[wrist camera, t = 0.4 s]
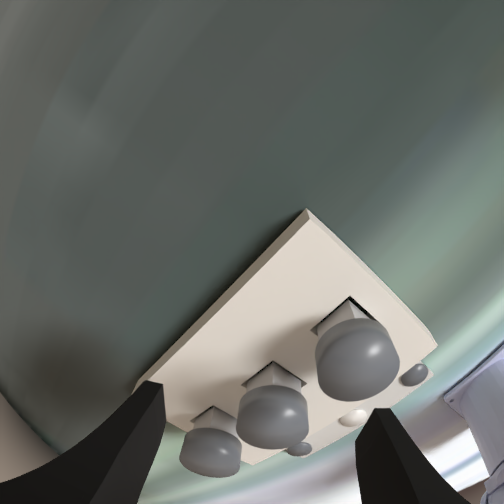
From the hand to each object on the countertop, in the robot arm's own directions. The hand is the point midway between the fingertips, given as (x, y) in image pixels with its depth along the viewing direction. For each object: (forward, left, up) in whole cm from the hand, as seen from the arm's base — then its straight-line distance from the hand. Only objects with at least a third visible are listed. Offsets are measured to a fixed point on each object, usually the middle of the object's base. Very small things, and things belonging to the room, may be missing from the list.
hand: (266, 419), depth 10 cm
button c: (-4, +10, -8) cm, 14 cm away
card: (-13, +4, -10) cm, 17 cm away
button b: (-4, +4, -8) cm, 10 cm away
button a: (-4, -2, -8) cm, 9 cm away
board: (-4, +4, -10) cm, 12 cm away
